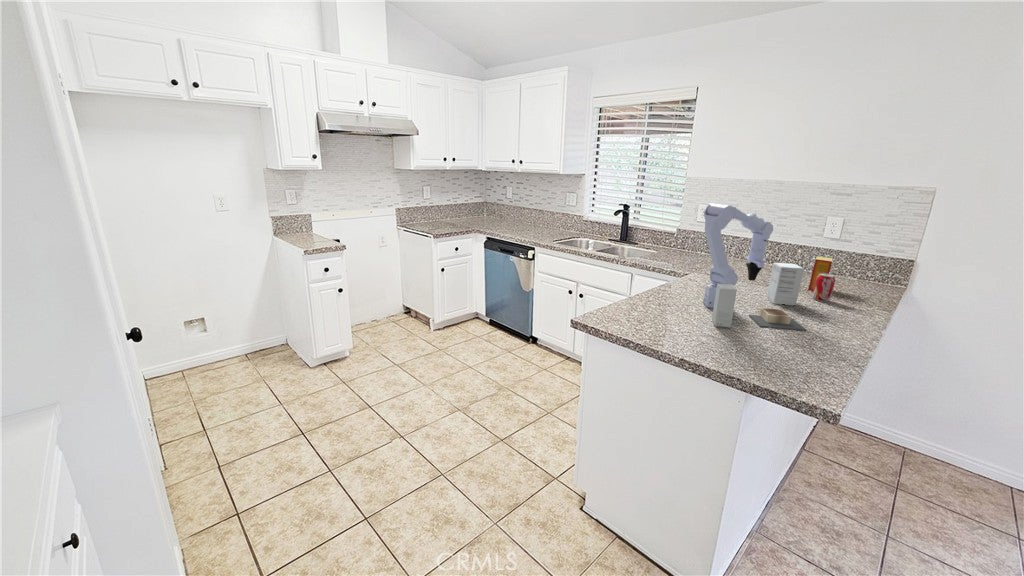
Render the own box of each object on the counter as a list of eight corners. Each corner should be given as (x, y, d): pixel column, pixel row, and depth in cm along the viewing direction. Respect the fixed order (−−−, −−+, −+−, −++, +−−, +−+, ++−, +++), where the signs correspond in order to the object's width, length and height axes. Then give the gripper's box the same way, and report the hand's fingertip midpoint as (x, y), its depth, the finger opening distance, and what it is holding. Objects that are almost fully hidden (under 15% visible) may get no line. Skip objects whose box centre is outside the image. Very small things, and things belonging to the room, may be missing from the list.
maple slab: (758, 314, 174) (767, 322, 166) (760, 307, 173) (768, 314, 165) (780, 316, 172) (789, 324, 164) (782, 309, 172) (791, 316, 164)
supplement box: (796, 306, 188) (805, 268, 183) (773, 304, 189) (781, 266, 184) (787, 299, 197) (795, 263, 192) (765, 297, 198) (773, 261, 193)
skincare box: (730, 328, 160) (738, 290, 155) (713, 326, 161) (720, 288, 157) (727, 320, 167) (734, 284, 163) (710, 318, 169) (717, 282, 165)
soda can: (813, 301, 195) (819, 275, 192) (809, 296, 202) (815, 271, 198) (831, 303, 193) (838, 277, 189) (827, 299, 199) (834, 273, 196)
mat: (759, 326, 162) (760, 325, 162) (748, 315, 174) (749, 314, 173) (806, 330, 160) (806, 329, 160) (792, 319, 171) (792, 318, 171)
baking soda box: (809, 286, 220) (817, 255, 215) (825, 288, 216) (833, 257, 211) (808, 290, 212) (815, 258, 208) (824, 292, 209) (832, 260, 204)
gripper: (774, 253, 175) (767, 285, 179) (761, 246, 189) (755, 276, 193) (756, 252, 176) (749, 284, 180) (744, 245, 190) (738, 275, 194)
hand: (751, 280), depth 187 cm, fingers closed
